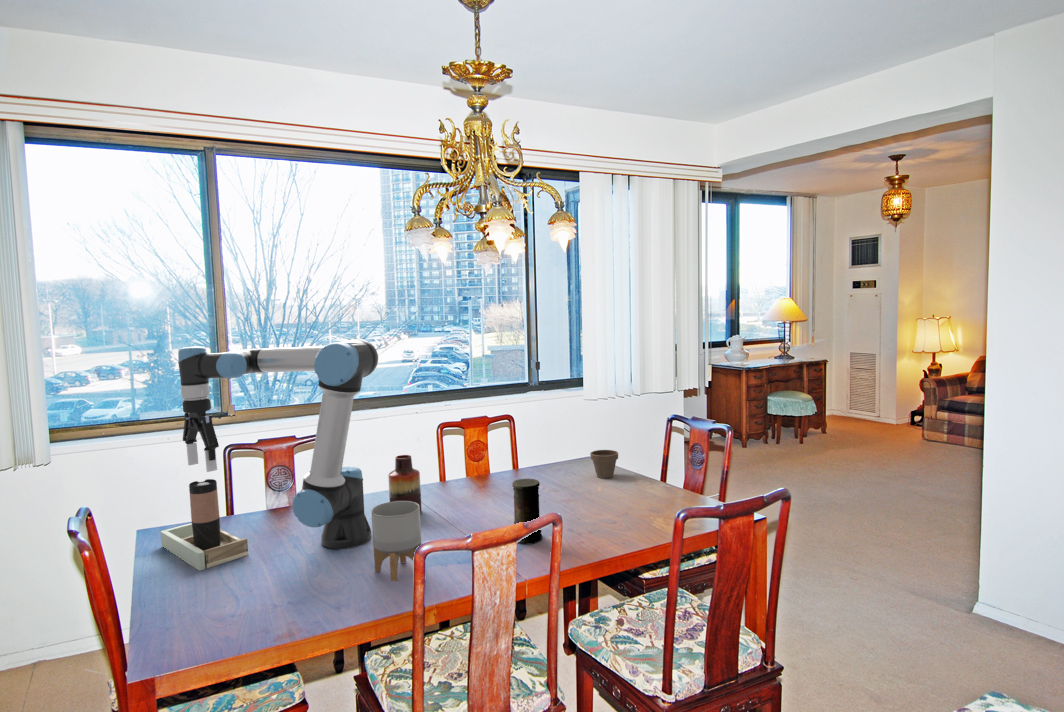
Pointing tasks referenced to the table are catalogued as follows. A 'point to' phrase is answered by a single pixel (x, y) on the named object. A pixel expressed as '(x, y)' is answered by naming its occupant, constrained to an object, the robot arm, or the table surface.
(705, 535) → the table surface
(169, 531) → the bay
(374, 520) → the planter
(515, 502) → the container
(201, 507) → the travel mug
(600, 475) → the flower pot
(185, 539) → the tray
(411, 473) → the vase
